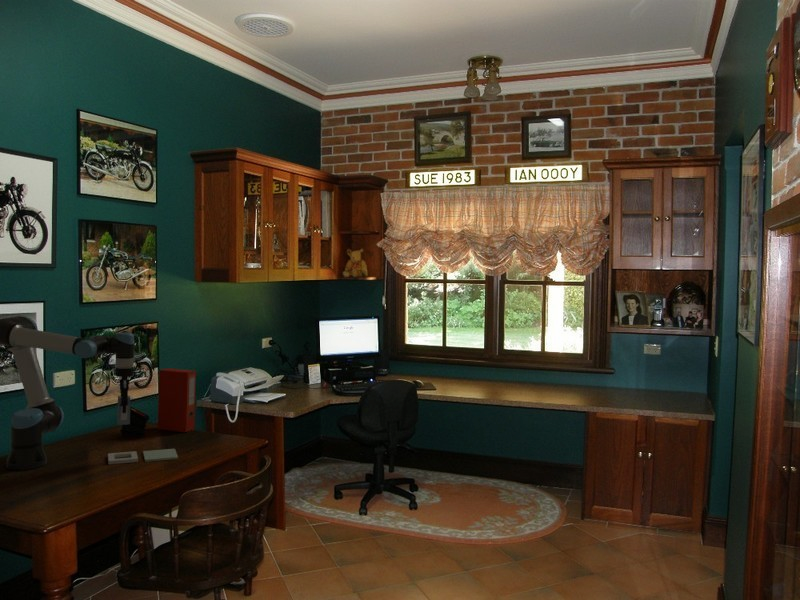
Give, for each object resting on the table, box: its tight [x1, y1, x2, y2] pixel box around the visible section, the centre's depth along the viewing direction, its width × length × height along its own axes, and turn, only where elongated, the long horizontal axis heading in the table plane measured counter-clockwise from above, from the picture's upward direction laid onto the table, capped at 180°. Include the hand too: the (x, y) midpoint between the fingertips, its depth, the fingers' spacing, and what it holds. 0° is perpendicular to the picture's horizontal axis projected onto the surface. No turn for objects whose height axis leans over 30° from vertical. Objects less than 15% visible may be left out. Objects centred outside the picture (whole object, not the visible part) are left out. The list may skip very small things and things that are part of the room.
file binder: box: [157, 367, 197, 433], centre depth 344 cm, size 8×17×32 cm, turn 75°
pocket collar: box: [107, 451, 139, 465], centre depth 290 cm, size 12×12×2 cm
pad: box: [142, 448, 179, 463], centre depth 297 cm, size 14×14×1 cm
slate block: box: [116, 395, 131, 426], centre depth 289 cm, size 5×5×12 cm
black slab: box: [119, 406, 150, 438], centre depth 328 cm, size 4×13×15 cm, turn 88°
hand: (123, 418), depth 289 cm, fingers closed on slate block, 5 cm apart
